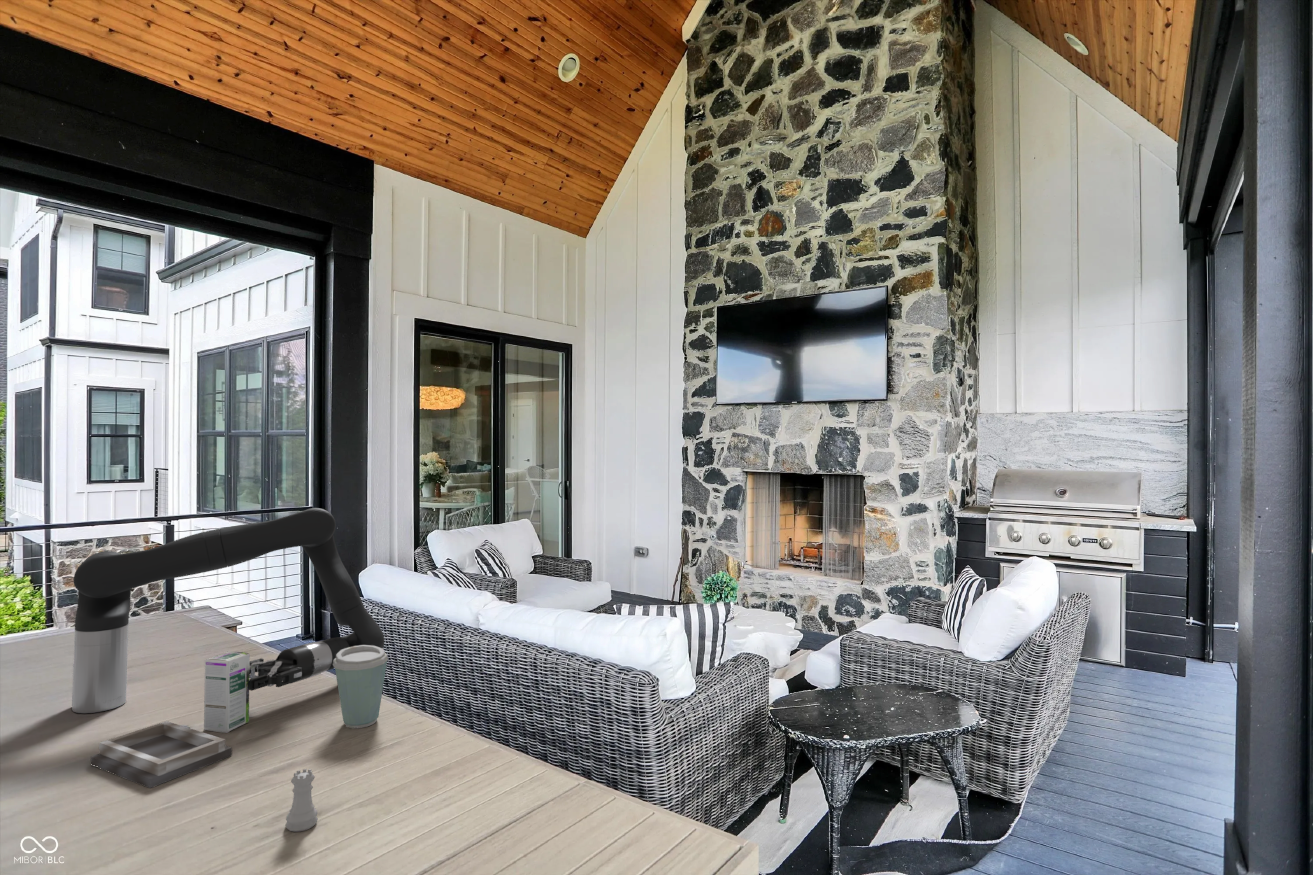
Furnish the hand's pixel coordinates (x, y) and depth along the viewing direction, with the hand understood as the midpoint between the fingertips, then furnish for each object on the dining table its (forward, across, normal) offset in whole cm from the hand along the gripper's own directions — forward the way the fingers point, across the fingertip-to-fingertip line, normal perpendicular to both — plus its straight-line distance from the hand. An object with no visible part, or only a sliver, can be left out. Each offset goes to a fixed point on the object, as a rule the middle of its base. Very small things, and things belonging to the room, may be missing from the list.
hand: (235, 681), depth 145 cm
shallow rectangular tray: (+17, +5, +8) cm, 20 cm away
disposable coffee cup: (-12, +22, +9) cm, 27 cm away
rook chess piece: (+20, +46, +9) cm, 51 cm away
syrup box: (+2, 0, +9) cm, 9 cm away
